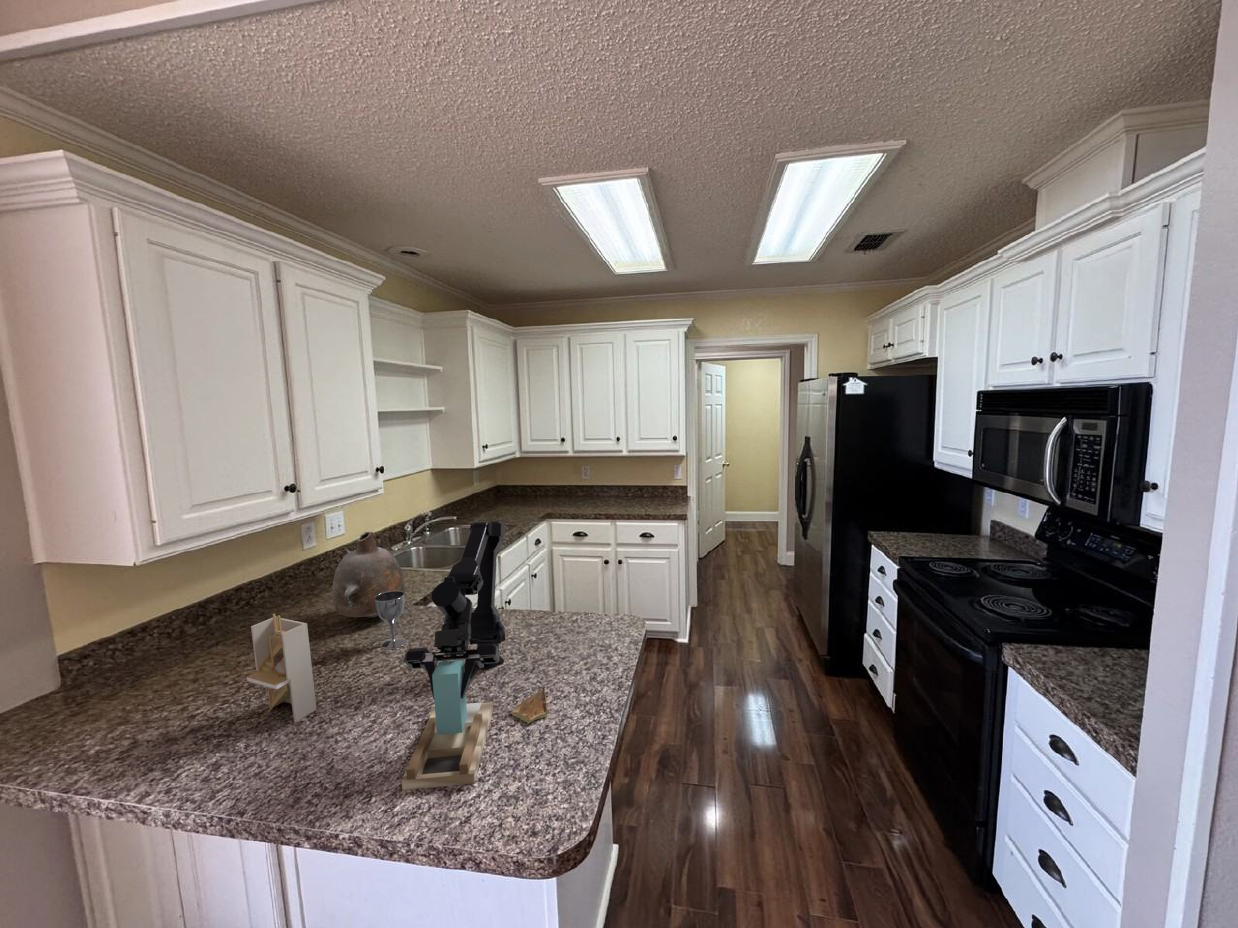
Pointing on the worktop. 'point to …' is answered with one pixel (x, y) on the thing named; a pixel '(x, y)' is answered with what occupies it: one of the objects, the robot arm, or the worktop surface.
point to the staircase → (284, 664)
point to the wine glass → (390, 614)
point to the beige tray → (449, 752)
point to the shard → (532, 707)
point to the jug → (365, 578)
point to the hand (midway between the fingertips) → (448, 699)
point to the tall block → (449, 697)
